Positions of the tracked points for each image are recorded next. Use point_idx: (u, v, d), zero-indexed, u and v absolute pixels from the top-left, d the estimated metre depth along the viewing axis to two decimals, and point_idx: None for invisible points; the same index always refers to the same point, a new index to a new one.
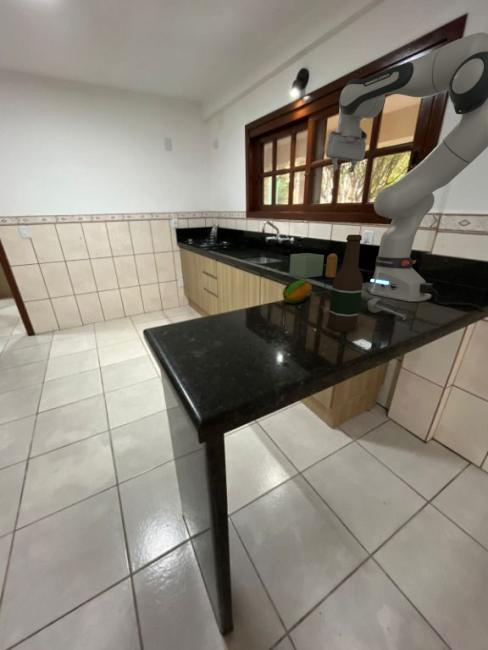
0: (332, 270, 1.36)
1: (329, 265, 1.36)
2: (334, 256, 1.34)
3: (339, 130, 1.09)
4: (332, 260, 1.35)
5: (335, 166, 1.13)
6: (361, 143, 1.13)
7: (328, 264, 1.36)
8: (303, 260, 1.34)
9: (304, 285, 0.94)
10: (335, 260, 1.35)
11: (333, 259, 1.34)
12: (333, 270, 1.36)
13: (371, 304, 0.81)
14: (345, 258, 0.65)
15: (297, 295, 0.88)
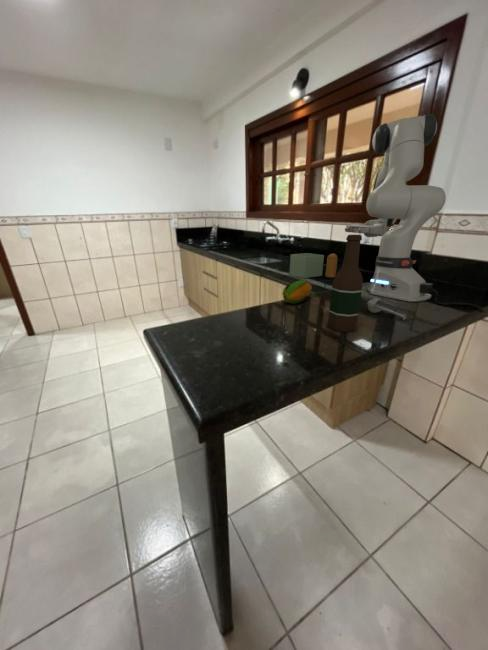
0: (332, 270, 1.36)
1: (329, 265, 1.36)
2: (334, 256, 1.34)
3: None
4: (332, 260, 1.35)
5: None
6: (379, 225, 1.33)
7: (328, 264, 1.36)
8: (303, 260, 1.34)
9: (304, 285, 0.94)
10: (335, 260, 1.35)
11: (333, 259, 1.34)
12: (333, 270, 1.36)
13: (371, 304, 0.81)
14: (345, 258, 0.65)
15: (297, 295, 0.88)
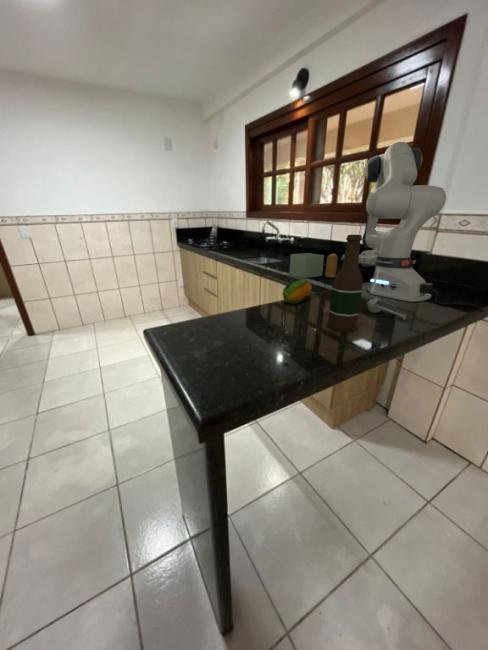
0: (332, 270, 1.36)
1: (329, 265, 1.36)
2: (334, 256, 1.34)
3: None
4: (332, 260, 1.35)
5: None
6: (374, 256, 1.38)
7: (328, 264, 1.36)
8: (303, 260, 1.34)
9: (304, 285, 0.94)
10: (335, 260, 1.35)
11: (333, 259, 1.34)
12: (333, 270, 1.36)
13: (371, 304, 0.81)
14: (345, 258, 0.65)
15: (297, 295, 0.88)
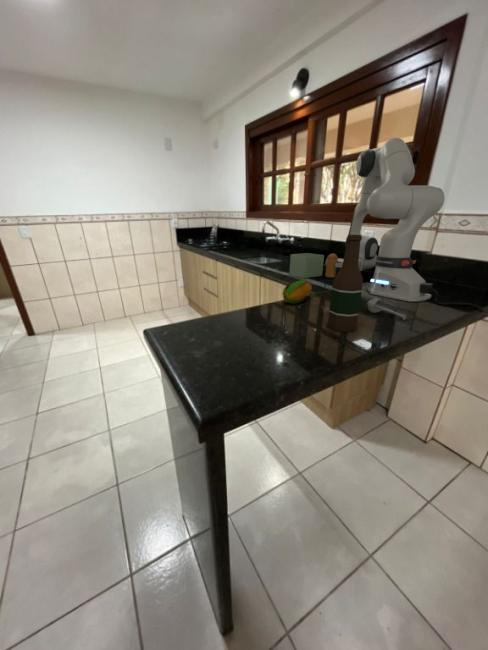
0: (332, 270, 1.36)
1: (329, 265, 1.36)
2: (334, 256, 1.34)
3: None
4: (332, 260, 1.35)
5: None
6: None
7: (328, 264, 1.36)
8: (303, 260, 1.34)
9: (304, 285, 0.94)
10: (335, 260, 1.35)
11: (333, 259, 1.34)
12: (333, 270, 1.36)
13: (371, 304, 0.81)
14: (345, 258, 0.65)
15: (297, 295, 0.88)
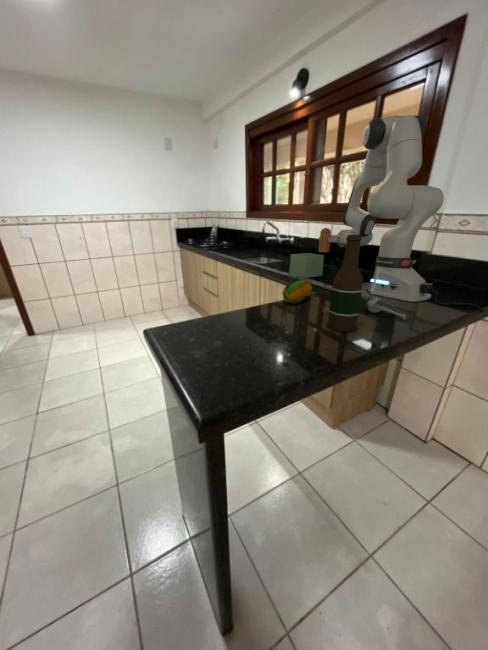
0: (325, 244, 1.33)
1: (322, 239, 1.33)
2: (327, 230, 1.31)
3: None
4: (325, 234, 1.31)
5: None
6: (350, 234, 1.31)
7: (321, 239, 1.33)
8: (303, 260, 1.34)
9: (304, 285, 0.94)
10: (329, 234, 1.31)
11: (326, 233, 1.31)
12: (326, 245, 1.33)
13: (371, 304, 0.81)
14: (345, 258, 0.65)
15: (297, 295, 0.88)
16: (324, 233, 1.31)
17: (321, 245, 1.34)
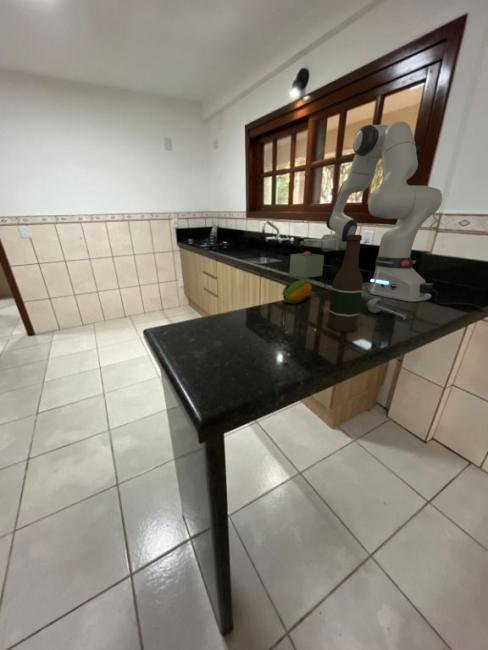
0: None
1: None
2: (308, 254, 1.38)
3: None
4: None
5: None
6: (332, 239, 1.34)
7: None
8: (303, 260, 1.34)
9: (304, 285, 0.94)
10: None
11: None
12: None
13: (371, 304, 0.81)
14: (345, 258, 0.65)
15: (297, 295, 0.88)
16: None
17: None
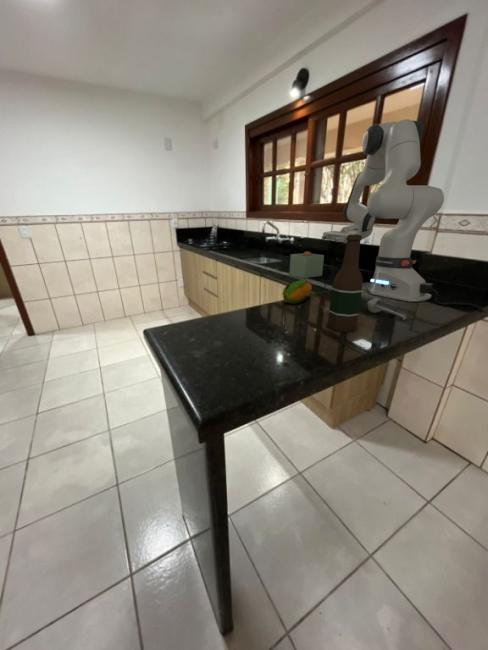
0: None
1: None
2: (308, 254, 1.38)
3: None
4: None
5: None
6: (354, 232, 1.37)
7: None
8: (303, 260, 1.34)
9: (304, 285, 0.94)
10: None
11: None
12: None
13: (371, 304, 0.81)
14: (345, 258, 0.65)
15: (297, 295, 0.88)
16: None
17: None
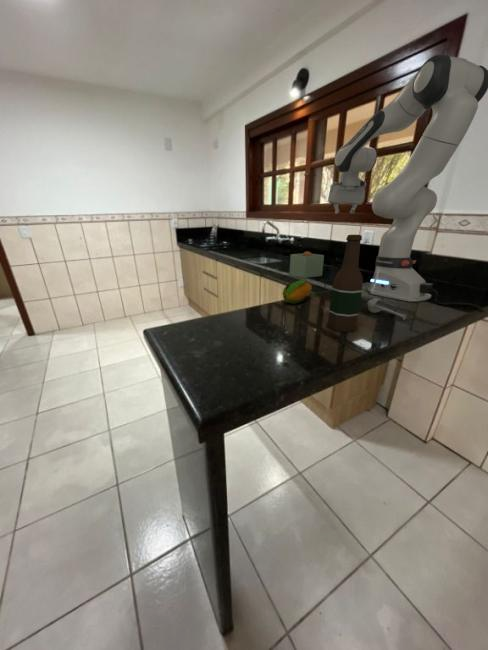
0: None
1: None
2: (308, 254, 1.38)
3: (340, 180, 1.27)
4: None
5: (336, 210, 1.31)
6: (361, 190, 1.30)
7: None
8: (303, 260, 1.34)
9: (304, 285, 0.94)
10: None
11: None
12: None
13: (371, 304, 0.81)
14: (345, 258, 0.65)
15: (297, 295, 0.88)
16: None
17: None
